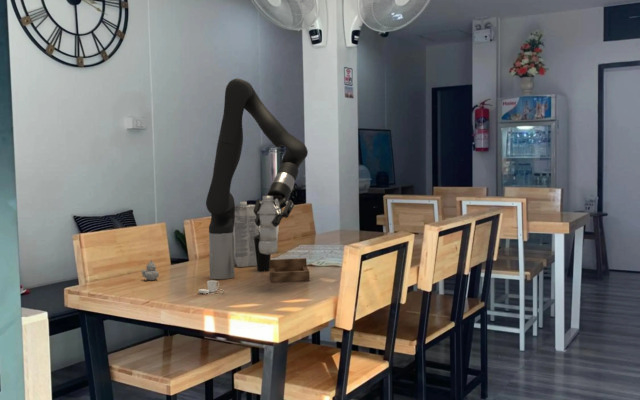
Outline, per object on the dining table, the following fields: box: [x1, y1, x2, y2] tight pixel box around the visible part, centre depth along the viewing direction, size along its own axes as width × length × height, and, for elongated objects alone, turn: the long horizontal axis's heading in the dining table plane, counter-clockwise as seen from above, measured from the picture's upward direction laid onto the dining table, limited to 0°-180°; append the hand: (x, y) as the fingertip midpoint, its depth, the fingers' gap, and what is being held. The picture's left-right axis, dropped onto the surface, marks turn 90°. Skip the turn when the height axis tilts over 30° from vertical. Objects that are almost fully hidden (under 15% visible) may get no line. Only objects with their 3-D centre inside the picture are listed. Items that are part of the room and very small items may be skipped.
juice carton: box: [233, 201, 260, 268], centre depth 269 cm, size 9×10×27 cm
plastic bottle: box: [259, 195, 279, 255], centre depth 218 cm, size 6×7×20 cm
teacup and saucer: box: [197, 279, 225, 295], centre depth 218 cm, size 9×8×4 cm
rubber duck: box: [140, 259, 160, 281], centre depth 241 cm, size 5×7×8 cm
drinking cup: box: [253, 233, 272, 272], centre depth 257 cm, size 8×8×20 cm
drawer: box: [269, 257, 310, 284], centre depth 239 cm, size 14×12×7 cm
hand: (265, 224), depth 217 cm, fingers closed on plastic bottle, 6 cm apart
